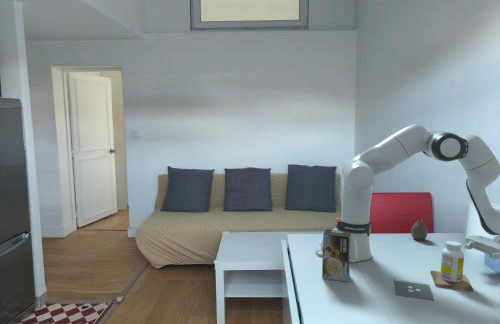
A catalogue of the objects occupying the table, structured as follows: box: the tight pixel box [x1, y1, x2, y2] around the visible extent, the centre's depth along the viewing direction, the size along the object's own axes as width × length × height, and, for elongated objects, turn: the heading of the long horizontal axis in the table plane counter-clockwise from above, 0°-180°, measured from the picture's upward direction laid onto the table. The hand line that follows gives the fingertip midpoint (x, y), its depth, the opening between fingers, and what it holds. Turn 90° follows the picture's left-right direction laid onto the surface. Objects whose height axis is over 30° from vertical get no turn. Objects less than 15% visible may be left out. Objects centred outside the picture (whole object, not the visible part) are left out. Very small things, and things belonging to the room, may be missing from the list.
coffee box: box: [321, 228, 351, 283], centre depth 129 cm, size 9×6×16 cm
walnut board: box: [430, 270, 474, 292], centre depth 127 cm, size 11×11×1 cm
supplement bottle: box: [440, 240, 465, 283], centre depth 126 cm, size 7×7×13 cm
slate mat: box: [393, 279, 435, 301], centre depth 120 cm, size 11×11×1 cm
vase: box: [410, 219, 428, 241], centre depth 170 cm, size 7×7×9 cm
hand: (478, 251), depth 129 cm, fingers open, 8 cm apart
